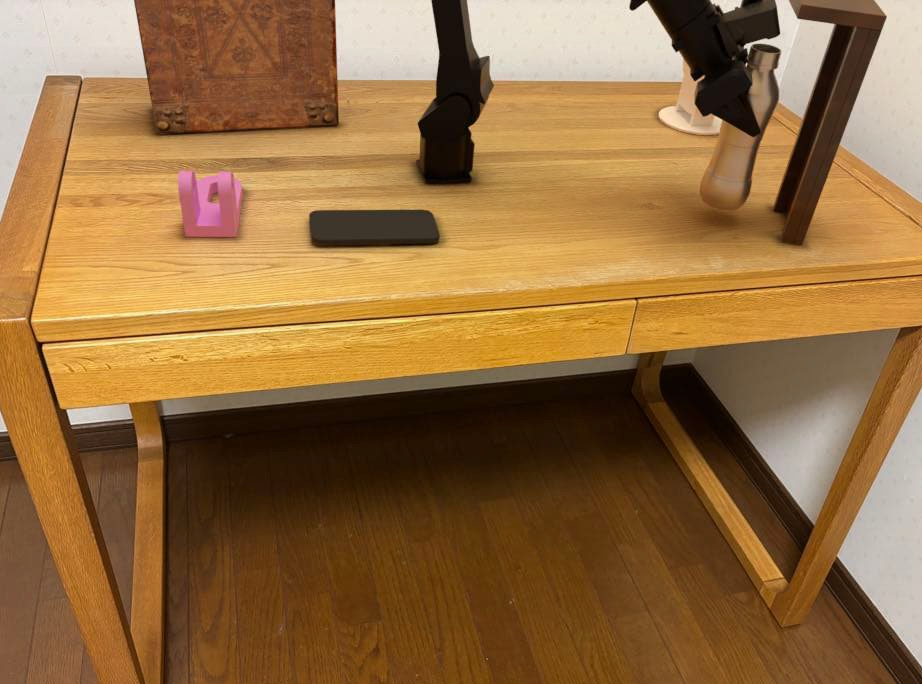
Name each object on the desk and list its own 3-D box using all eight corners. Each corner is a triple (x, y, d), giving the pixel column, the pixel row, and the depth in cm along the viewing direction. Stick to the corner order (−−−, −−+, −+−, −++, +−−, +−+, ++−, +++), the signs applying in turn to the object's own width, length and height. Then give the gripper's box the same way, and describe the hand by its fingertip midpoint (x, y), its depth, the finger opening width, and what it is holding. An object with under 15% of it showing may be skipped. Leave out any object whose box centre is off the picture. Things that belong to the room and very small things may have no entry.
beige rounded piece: (740, 136, 136) (769, 39, 126) (676, 137, 133) (700, 38, 124) (708, 107, 145) (733, 15, 135) (648, 107, 142) (668, 13, 132)
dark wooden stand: (730, 234, 109) (801, 4, 92) (725, 200, 117) (790, -18, 99) (802, 245, 109) (887, 16, 91) (792, 210, 117) (869, -7, 99)
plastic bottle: (748, 201, 113) (797, 46, 100) (740, 221, 108) (791, 62, 95) (700, 189, 114) (743, 35, 102) (691, 209, 109) (734, 49, 97)
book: (326, 102, 131) (318, -123, 111) (339, 126, 124) (333, -109, 105) (151, 109, 122) (111, -133, 103) (155, 135, 116) (114, -118, 97)
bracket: (236, 237, 97) (229, 180, 93) (185, 236, 96) (176, 179, 92) (244, 186, 107) (238, 133, 103) (198, 185, 106) (190, 131, 102)
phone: (441, 238, 100) (311, 240, 96) (440, 244, 100) (312, 246, 97) (431, 209, 105) (308, 209, 102) (431, 215, 106) (308, 216, 102)
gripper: (757, -9, 87) (827, 114, 93) (747, -47, 101) (809, 62, 107) (663, 57, 92) (736, 169, 98) (667, 12, 107) (730, 112, 113)
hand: (755, 125), depth 104 cm, fingers closed on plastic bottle, 6 cm apart
